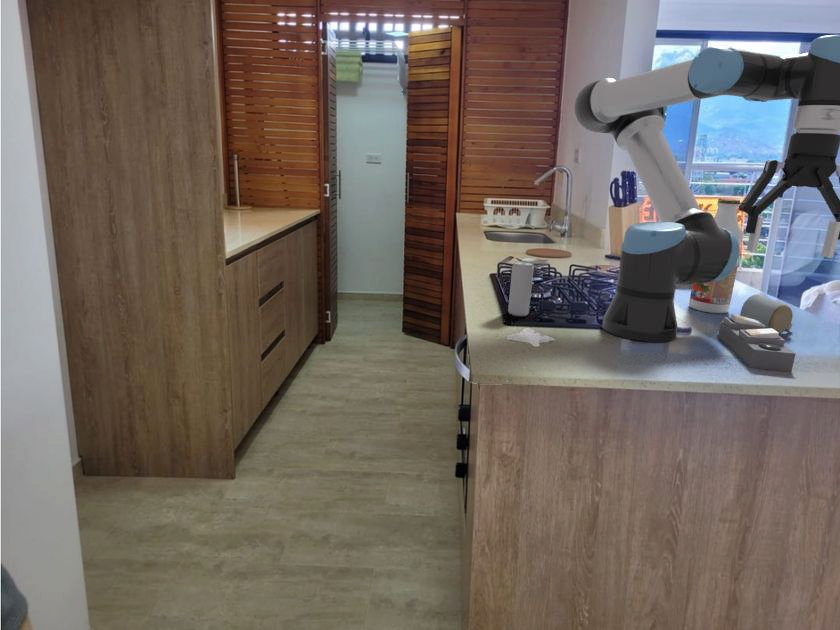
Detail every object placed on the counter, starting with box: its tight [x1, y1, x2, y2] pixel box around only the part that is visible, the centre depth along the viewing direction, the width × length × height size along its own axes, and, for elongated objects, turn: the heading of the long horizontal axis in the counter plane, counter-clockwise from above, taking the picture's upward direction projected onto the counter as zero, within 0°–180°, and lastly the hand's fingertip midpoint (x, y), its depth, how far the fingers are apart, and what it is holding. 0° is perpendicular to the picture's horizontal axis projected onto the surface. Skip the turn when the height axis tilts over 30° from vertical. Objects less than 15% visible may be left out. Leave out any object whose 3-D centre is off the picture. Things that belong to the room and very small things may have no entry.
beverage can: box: [507, 260, 535, 317], centre depth 134 cm, size 5×5×12 cm
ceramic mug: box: [739, 293, 793, 334], centre depth 133 cm, size 11×8×8 cm
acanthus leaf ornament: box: [506, 327, 555, 347], centre depth 117 cm, size 8×7×2 cm
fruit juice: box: [688, 197, 744, 314], centre depth 146 cm, size 9×9×28 cm
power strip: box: [717, 316, 796, 373], centre depth 115 cm, size 7×20×5 cm, turn 169°
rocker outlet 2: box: [745, 328, 780, 338], centre depth 112 cm, size 5×3×1 cm
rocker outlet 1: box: [729, 313, 761, 325], centre depth 121 cm, size 5×3×1 cm
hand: (788, 254), depth 108 cm, fingers open, 12 cm apart
